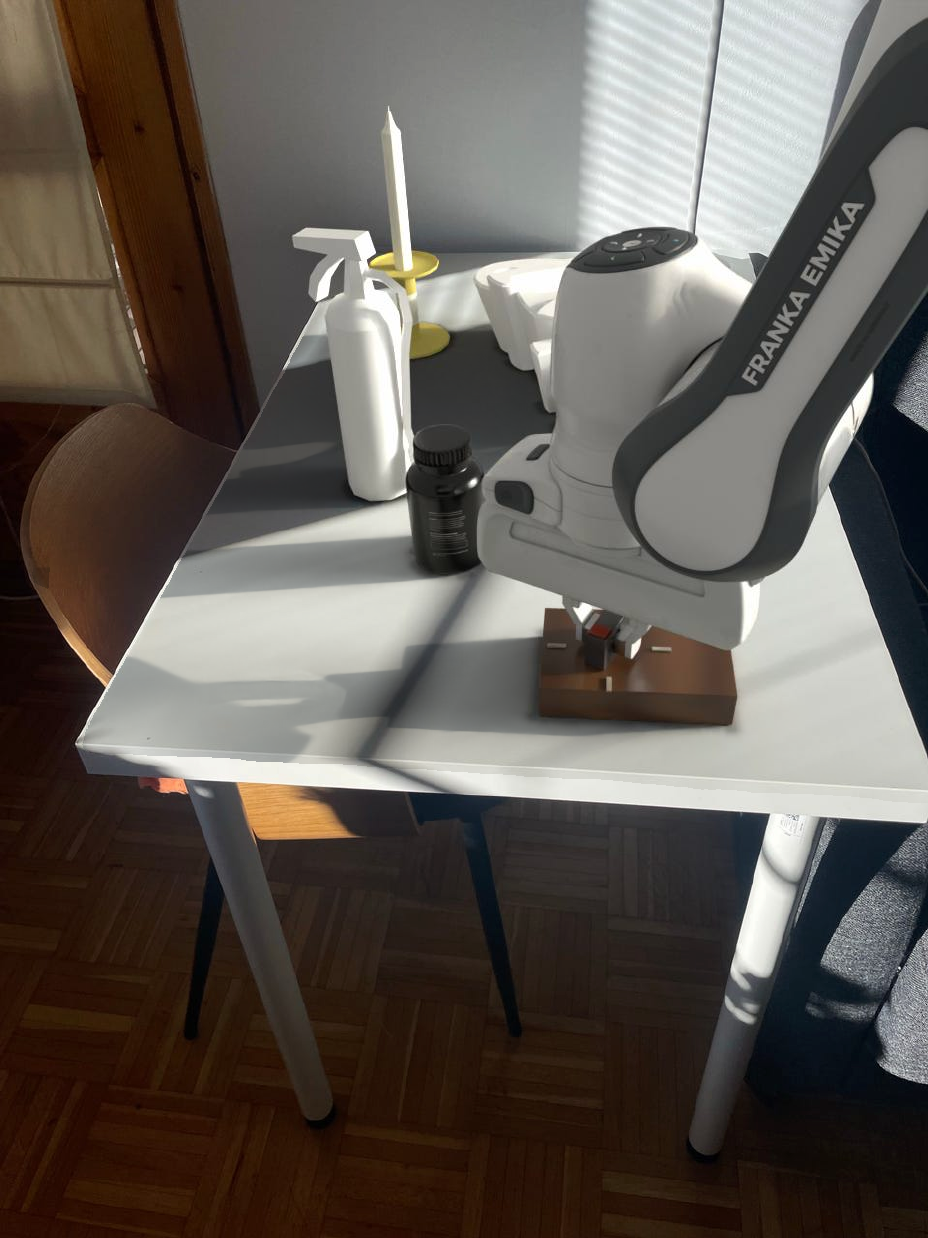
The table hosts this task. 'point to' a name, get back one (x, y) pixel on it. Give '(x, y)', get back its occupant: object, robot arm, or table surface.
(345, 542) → the table surface
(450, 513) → the supplement bottle
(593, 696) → the dial panel
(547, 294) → the white wavy slab sculpture
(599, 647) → the black rectangular block
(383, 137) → the candle
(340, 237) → the fire extinguisher
